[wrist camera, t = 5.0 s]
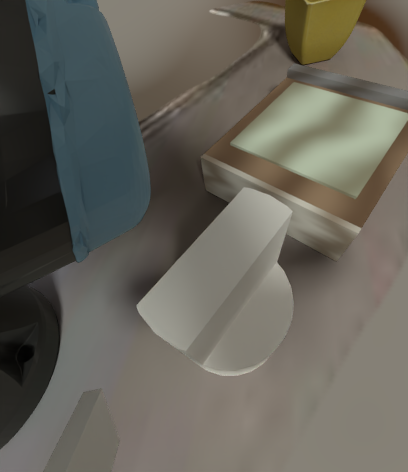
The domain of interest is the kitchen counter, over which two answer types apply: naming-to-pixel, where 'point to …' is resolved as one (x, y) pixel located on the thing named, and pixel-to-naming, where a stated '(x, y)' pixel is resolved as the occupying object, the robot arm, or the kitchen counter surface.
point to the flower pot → (319, 27)
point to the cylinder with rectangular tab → (228, 289)
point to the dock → (316, 153)
